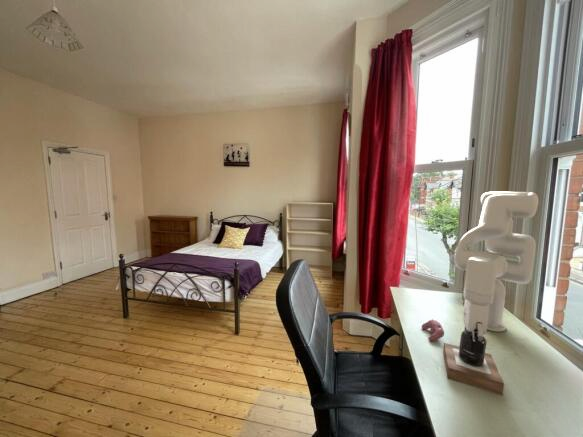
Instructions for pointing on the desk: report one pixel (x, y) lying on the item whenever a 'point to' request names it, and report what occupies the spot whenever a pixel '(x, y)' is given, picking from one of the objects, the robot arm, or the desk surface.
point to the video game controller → (434, 329)
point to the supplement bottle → (466, 354)
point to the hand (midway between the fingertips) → (472, 343)
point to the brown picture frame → (472, 371)
